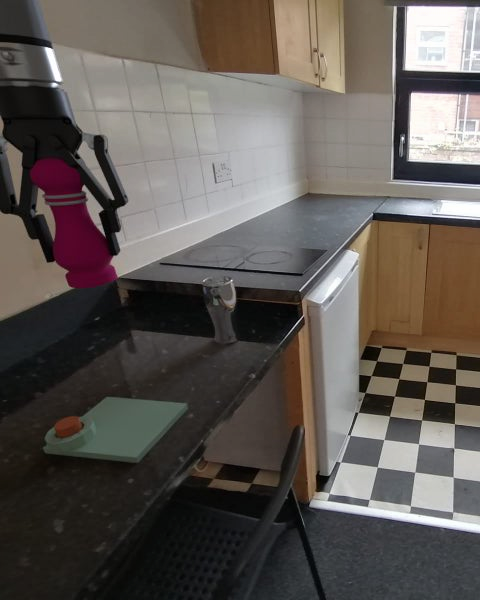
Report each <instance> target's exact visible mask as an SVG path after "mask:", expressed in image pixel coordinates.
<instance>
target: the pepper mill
mask: <svg viewBox="0 0 480 600" xmlns="http://www.w3.org/2000/svg"><path fill="white" fill-rule="evenodd" d="M30 175H31V179H32V181H33V183H34V185H36V186H37V187H38V189H40V190H41V191H42V192H44V193H43V194H42V195H41V197H42V198H43V199H44V202H43V203H44V204H45V205H46V206H49V208H50V211H51V213H52V216H53V219H54V228H55V229H54V230H55V231H54V238H53V241H54V243H53V255H54V259H55V261H54V262H55V263H56V265H58V266H59V267H60V268H61V269H64V270H65V271H66V273H65V275H64V277H65V281H66V283H67V285H68V287H69V288H72V289H90V288H96V287H100V286H105V285H108V284H110V283H112V282H115V281H116V279H117V278H118V273H117V271H116V268H115V266H114V265H113V264H110V263H112V260H113V259H114V256H111V253H110V250H109V246H108V243H107V240H106V237H105V234H104V233H103V232H102V231H101V230H100V228H98V226H97V225H96V223H95V222H94V220H93V219H92V217H91V214H90V212H89V210H88V204H87V202H88V201H89V198H88V197H87V191H85V190H83V188H84V186H85V185H84V184H83V183H82V181H81V180H80V175H79V173H78V171H77V170H76V169H75V168H72V167H69V166H68V165H67V164H66V163H65V161H64V160H63V159H58V158H45V159H40V160H37V161H35V164H34V166H33V168H32V169H31V170H30Z"/></svg>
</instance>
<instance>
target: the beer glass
mask: <svg viewBox="0 0 480 600" xmlns="http://www.w3.org/2000/svg"><path fill="white" fill-rule="evenodd" d="M233 279H234V278H233V277H231V276H229V275H215V276H211V277H207V278H205V279H203V280H202V281H201V290H202V297H203V302H204V305H205V309H206V311H207V315H208V316H209V318H210V321H211V323H212V326H213V330H214V336H213V337H214V338H213V339H214V342H215V343H216V344H218V345H231V344H234V343H236V342H238V341H240V339H241V338H242V335H243V334H242V332H241V330H240V328H239V323H238V295H237V291H236V288H235V287H236V286H235V284H234V280H233Z"/></svg>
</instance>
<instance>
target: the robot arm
mask: <svg viewBox="0 0 480 600" xmlns="http://www.w3.org/2000/svg"><path fill="white" fill-rule="evenodd" d="M64 83H65V82H64V78H63V74H62V71H61V69H60V66H59V63H58V59H57V56H56V53H55V50H54V46H53V44H52V39H51V36H50V33H49V29H48V27H47V22H46V18H45V14H44V12H43V8H42V5H41V2H40V0H0V118H1V121H2V124H3V126H2V132H1V133H0V213H2V214H3V215H13V216H17V217H19V218H20V219H21V220H22V223H23V225H24V227H25V231H26V233H27V236H28V238H29V239H30V240H31V241H33V240H34V241H35V240H36V241H38V243H39V245H40V248H41V250H42V251H41V252H42V253H43V256H44V259H45V261H46V263H47V264H49V263H50V264H51V263H54V262H56V261H55V259H54V255H53V243H54V238H53V236H52V232H51V230H50V227H49V224H48V222H47V219H46V216H45V213H38V211H39V210H37V206H38V205H37V204H38V196H39V188H38V187H37V186H36V185H34V183H33V181H32V179H31V175H30V170H31V169H32V168H33V166H34V164H35V161H37V160H40V159H45V158H58V159H63V160H64V161H65V163H66V164H67V165H68V166H69V167H72V168H75V169H76V170H77V171H78V173H79V175H80V180H81V181H82V183H83V184H84V186H85V188H86V189H87V191H88V192H89V193H90V194H91V196H92V197H93V199H94V200H95V201H96V202H97V203H98V204H99V206H100V207H101V208H102V210H101V211H100V212H98V217H99V221H100V223H101V226H102V230H103V234H104V236H105V237H106V240H107V243H108V246H109V250H110V253H111V256H113V257H116V256H118V255H119V254H120V253H121V248H120V247H121V246H120V244H119V241H118V238H117V234H116V233H120V232H121V231H122V224H121V220H120V217H119V213H118V209H120V208H123V207H125V206H126V205H127V204H128V203H129V198H128V195H127V193H126V190H125V187H124V186H123V183H122V181H121V179H120V176H119V173H118V172H117V170H116V167H115V165H114V163H113V159H112V158H111V155H110V153H109V138H108V137H107V136H106V135H105V134H93V133H89V132H88V133H87V132H83V130H82V129H81V128H80V127H79V125H78V124H77V121H76V119H75V115H74V112H73V109H72V106H71V105H72V104H71V101H70V99H69V96H68V92H67V91H65V89H62V88H61V85H63V84H64ZM83 142H85V143H86V144H87V146H88V148H89V149H90V150H91V151H93V152H94V156H95V158H96V161H97V164H98V166H99V168H100V169H101V172H102V174H103V177H104V179H105V181H106V183H107V185H108V189H109V191H110V192H111V195H112V197H113V199H112V197H111V196H110V194H109V192H107V190H106V189H105V188H104V187H103V185H102V184H101V183H100V181H99V180H98V178H96V176H95V175H94V174H93V172H92V171H91V169H90V168H89V167H88V166H87V164H86V161H85V160H84V158H83V157H82V156H81V155H80V153H79V152H78V151H79V150H80V148H81V145H82V144H83ZM8 144H10V145H11V146H12V147H14V148H15V149H16V150H18V151H19V152H20V153H21V154H22V156H21V163H20V165H21V168H22V169H21V179H20V187H19V188H20V190H19V198H18V199H17V195H16V189H15V186H14V180H13V176H12V171H11V167H10V162H9V158H8V155H7V153H6V152H7V151H8V149H9V148H8ZM36 213H38V214H36Z"/></svg>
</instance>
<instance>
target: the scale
mask: <svg viewBox="0 0 480 600" xmlns="http://www.w3.org/2000/svg"><path fill="white" fill-rule="evenodd" d="M188 410H189V406H188V403H184V402H174V401H161V400H152V399H151V400H150V399H138V398H128V397H117V396H116V397H114V396H106V397H105V398H104V399H102V400H101V401H100V402H99V403H97V404H96V405H95V406H93V407H92V408H91V409H90V410H89V411H87V412H86V413H84V414H83V415H82V416H78V417H79V419H80V422H81V424H82V430H80V431H79V432H78V433H76V434H74V435H72V436H70V437H65V438H59V437H58V436H57V434H56V431H55V429H54V426H53V427H52V428H51V429H49V430H48V431H47V433H46V435H45V436H44V441H45V443H46V445H44V446H43V447H42V449H43V452H44V453H45V454H48V455H58V456H65V457H66V456H69V457H78V458H85V459H86V458H87V459H95V460H106V461H115V462H124V463H132V464H133V463H134V464H139V462H141V460H142V459H143V458H144V457H146V455H147V454H148V453H149V452H150V451H151V450H152V448H153V447H154V446H155V445H156V444H157V443H158V442H159V441H160V440H161V438H163V436H165V434H166V433H167V432H168V431H169V430H170V429H171V428H172V427H174V425H175V423H176V422H178V420H179V419H180V418H181V417H182V416H183V415H184V414H185V413H186V412H187V411H188Z"/></svg>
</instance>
